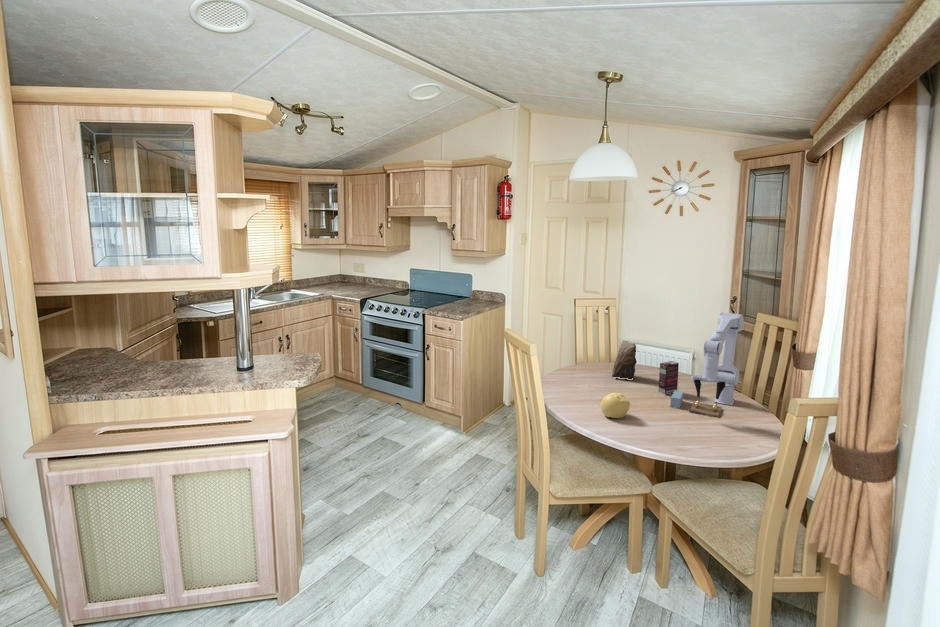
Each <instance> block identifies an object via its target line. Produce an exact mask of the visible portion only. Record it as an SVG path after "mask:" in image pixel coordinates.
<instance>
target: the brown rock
mask: <svg viewBox="0 0 940 627" xmlns="http://www.w3.org/2000/svg"><path fill="white" fill-rule="evenodd" d="M636 353H637V345H636V343H634V342H633V343H632V342H629V341H627V340H624V339H623V340H622V342H621V344H620V346H619V349H618V353H617V355H616V357H615V361H614V363H613V368H612V372H611V373H612V374H611V378H612V377H620V378H628V379H632V378H634V377H635V373H636V368H635V367H636V364H637V358H636V356H637V355H636Z"/></svg>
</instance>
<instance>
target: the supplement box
mask: <svg viewBox="0 0 940 627" xmlns="http://www.w3.org/2000/svg"><path fill="white" fill-rule="evenodd" d="M679 364H680V363H679V362H677V361H674V360H670V361H664V362H660V363H659V376H658V377H659V378H658V391H657V392H661V393H663V394H665V395H664V396H667V395H666V394H669V395H672V394H671V393H674V391H678V385H679V384H678V383H679V369H680V368H679ZM663 394H662V395H663Z"/></svg>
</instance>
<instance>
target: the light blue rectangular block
mask: <svg viewBox="0 0 940 627" xmlns="http://www.w3.org/2000/svg"><path fill="white" fill-rule="evenodd" d="M682 401H684V391H681V390H677V391H674V393H673V394H671V396H670V408H673V407H676V408H675V409H680V408H681V407H682V404H683V402H682ZM681 403H682V404H681Z"/></svg>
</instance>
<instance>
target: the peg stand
mask: <svg viewBox="0 0 940 627" xmlns="http://www.w3.org/2000/svg"><path fill="white" fill-rule="evenodd" d="M722 408H723V406H718V403H714V404H713V405H712V404H707V403H706V404H705V403H702V402H700V401H699V400H696V402H695V401H693V403H692V405H691V407H690V409H689V413H690V412H691V413H692V414H697V415H701V414H702V415H703V416H706V415H708V417H712V416H713V417H714V418H717V417H718V418H719V417H720V414H721V412H722ZM713 417H712V418H713Z"/></svg>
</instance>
